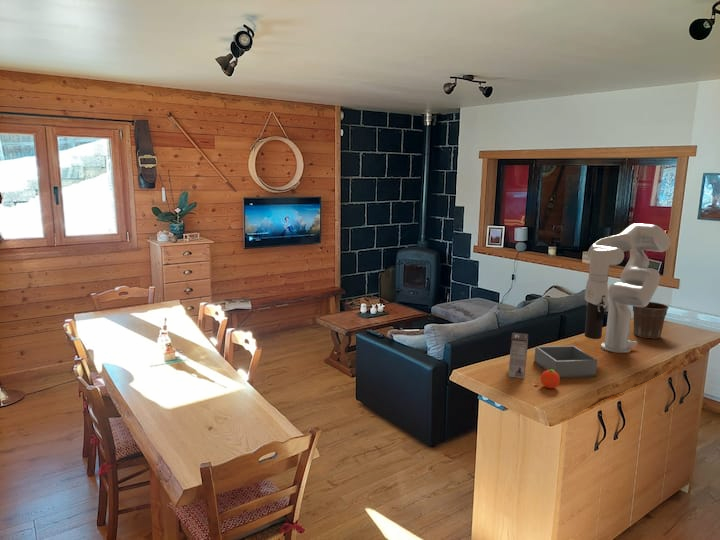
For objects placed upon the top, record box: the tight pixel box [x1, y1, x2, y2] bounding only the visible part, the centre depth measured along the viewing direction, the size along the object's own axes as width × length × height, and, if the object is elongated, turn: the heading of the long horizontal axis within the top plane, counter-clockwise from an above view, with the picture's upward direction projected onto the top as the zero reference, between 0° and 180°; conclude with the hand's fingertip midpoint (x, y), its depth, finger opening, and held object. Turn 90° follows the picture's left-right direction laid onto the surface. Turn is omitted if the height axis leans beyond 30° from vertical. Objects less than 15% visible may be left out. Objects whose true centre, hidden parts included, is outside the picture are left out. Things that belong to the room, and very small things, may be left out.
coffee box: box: [508, 332, 529, 379], centre depth 207 cm, size 9×6×16 cm
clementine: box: [540, 369, 561, 389], centre depth 195 cm, size 8×7×7 cm
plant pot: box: [632, 301, 670, 340], centre depth 260 cm, size 16×16×16 cm
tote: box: [533, 345, 598, 379], centre depth 214 cm, size 18×18×7 cm
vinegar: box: [584, 302, 604, 340], centre depth 222 cm, size 7×7×20 cm
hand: (594, 317), depth 222 cm, fingers closed on vinegar, 6 cm apart
